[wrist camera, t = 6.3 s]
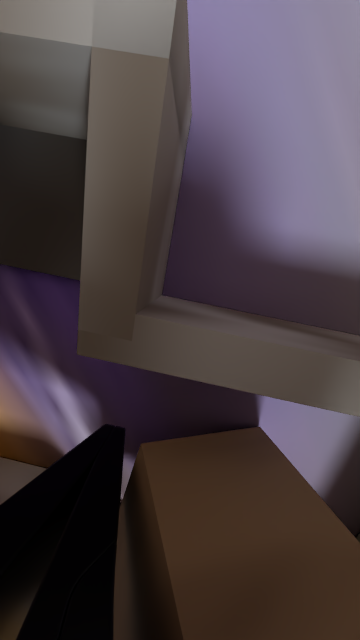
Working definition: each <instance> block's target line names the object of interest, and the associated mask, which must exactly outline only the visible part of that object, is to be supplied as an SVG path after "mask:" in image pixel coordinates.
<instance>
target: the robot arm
mask: <svg viewBox="0 0 360 640" xmlns="http://www.w3.org/2000/svg"><path fill="white" fill-rule="evenodd" d="M124 444H125V428H124V427H119V426H115V425H110V424H105V425H103V426H102V427H101V428H99V429H98V430H97V431H95V432H94V433H93V434H91V435H90V436H89V437H88V438H86V439H85V440H84V441H82V442H81V443H80V444H78V445H77V446H76V447H74V448H73V449H72V450H71V451H69V452H68V453H67V454H65V455H64V456H63V457H61V458H60V459H59V460H58V461H56V462H55V463H54V464H52V465H51V466H50V467H48V468H47V469H46V470H45V471H43V472H42V473H41V474H39V475H38V476H37V477H35V478H34V479H33V480H32V481H30V482H29V483H28V484H26V485H25V486H24V487H22V488H21V489H20V490H19V491H17V492H16V493H15V494H13V495H12V496H11V497H9V498H8V499H7V500H6V501H4V502H3V503H2V504H0V640H113V639H114V585H115V565H116V552H117V536H118V523H119V510H120V497H121V484H122V470H123V457H124Z"/></svg>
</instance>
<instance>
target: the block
mask: <svg viewBox="0 0 360 640" xmlns="http://www.w3.org/2000/svg"><path fill="white" fill-rule="evenodd" d="M113 640H360V543H359V542H358V540H357V539H356V538H355V537H354V536H353V535H352V533H351V532H350V531H349V530H348V529H347V528H346V526H345V525H344V524H343V523H342V522H341V521H340V519H339V518H338V517H337V516H336V515H335V514H334V512H333V511H332V510H331V509H330V508H329V507H328V505H327V504H326V503H325V502H324V501H323V500H322V498H321V497H320V496H319V495H318V494H317V493H316V492H315V490H314V489H313V488H312V487H311V486H310V485H309V483H308V482H307V481H306V480H305V479H304V478H303V476H302V475H301V474H300V473H299V472H298V471H297V469H296V468H295V467H294V466H293V465H292V464H291V462H290V461H289V460H288V459H287V458H286V457H285V455H284V454H283V453H282V452H281V451H280V450H279V448H278V447H277V446H276V445H275V444H274V443H273V442H272V440H271V439H270V438H269V437H268V436H267V435H266V433H265V432H264V431H263V430H262V429H261V428H260V427H253V428H246V429H239V430H232V431H225V432H218V433H211V434H204V435H197V436H190V437H183V438H176V439H169V440H162V441H155V442H148V443H141V445H140V448H139V451H138V454H137V457H136V460H135V463H134V466H133V469H132V472H131V476H130V479H129V482H128V485H127V488H126V491H125V494H124V497H123V500H122V503H121V506H120V510H119V523H118V536H117V552H116V565H115V585H114V639H113Z"/></svg>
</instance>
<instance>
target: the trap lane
mask: <svg viewBox="0 0 360 640" xmlns="http://www.w3.org/2000/svg"><path fill="white" fill-rule="evenodd" d="M191 116H192V110H191V86H190V61H189V37H188V12H187V0H0V264H3V265H8V266H12V267H17V268H22V269H27V270H32V271H37V272H42V273H47V274H51V275H56V276H61V277H66V278H71V279H76V280H80V298H79V318H78V339H77V355H81V356H86V357H90V358H95V359H100V360H104V361H109V362H113V363H118V364H122V365H127V366H131V367H136V368H140V369H145V370H149V371H154V372H159V373H163V374H168V375H172V376H177V377H181V378H186V379H190V380H195V381H199V382H204V383H208V384H213V385H218V386H222V387H227V388H231V389H236V390H240V391H245V392H249V393H254V394H258V395H263V396H267V397H272V398H277V399H281V400H286V401H290V402H295V403H299V404H304V405H308V406H313V407H317V408H322V409H326V410H331V411H336V412H340V413H345V414H349V415H354V416H358V417H360V336H359V335H354V334H349V333H344V332H339V331H334V330H330V329H325V328H320V327H315V326H310V325H305V324H300V323H295V322H290V321H286V320H281V319H276V318H271V317H266V316H261V315H256V314H251V313H247V312H242V311H237V310H232V309H227V308H222V307H217V306H212V305H207V304H203V303H198V302H193V301H188V300H183V299H178V298H173V297H168V296H163V295H162V291H163V285H164V279H165V273H166V267H167V261H168V255H169V249H170V243H171V237H172V231H173V225H174V219H175V213H176V207H177V201H178V195H179V189H180V183H181V177H182V171H183V164H184V158H185V152H186V146H187V140H188V134H189V128H190V122H191ZM45 470H46V468H42V467H38V466H34V465H30V464H26V463H22V462H18V461H14V460H10V459H6V458H2V457H0V504H2V503H3V502H4V501H6V500H7V499H8V498H9V497H11V496H12V495H13V494H15V493H16V492H17V491H19V490H20V489H21V488H22V487H24V486H25V485H26V484H28V483H29V482H30V481H32V480H33V479H34V478H35V477H37V476H38V475H39V474H41V473H42V472H43V471H45ZM120 506H121V504H120ZM356 539H357V540H358V542H359V543H360V533H359V535H358V536H357V538H356Z"/></svg>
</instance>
